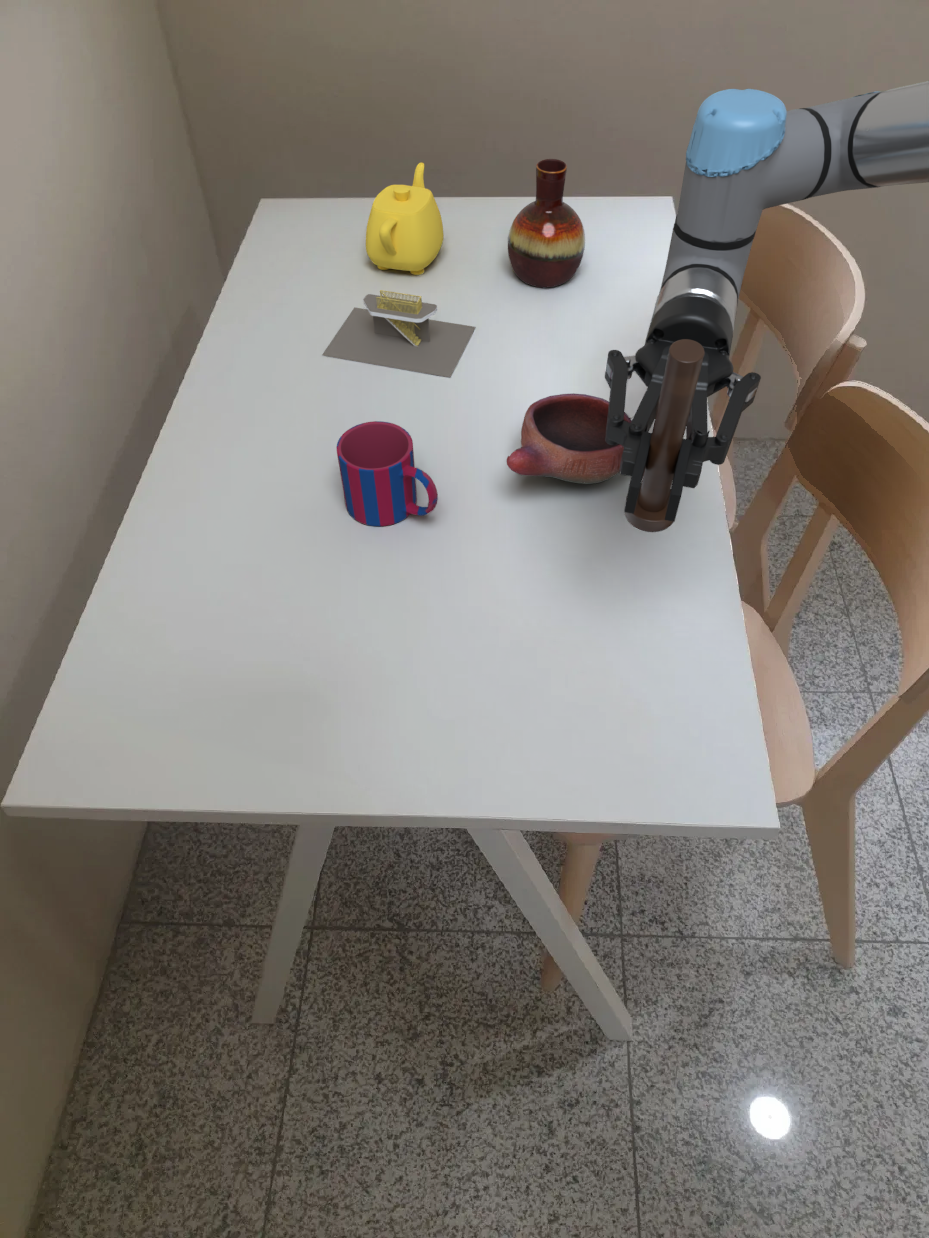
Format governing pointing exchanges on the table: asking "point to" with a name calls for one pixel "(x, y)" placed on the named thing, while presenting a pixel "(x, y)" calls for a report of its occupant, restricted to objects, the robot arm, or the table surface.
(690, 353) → the muddler
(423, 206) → the teapot
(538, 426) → the bowl
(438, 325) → the platform
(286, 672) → the table surface
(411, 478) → the mug
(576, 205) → the table surface
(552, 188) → the vase
